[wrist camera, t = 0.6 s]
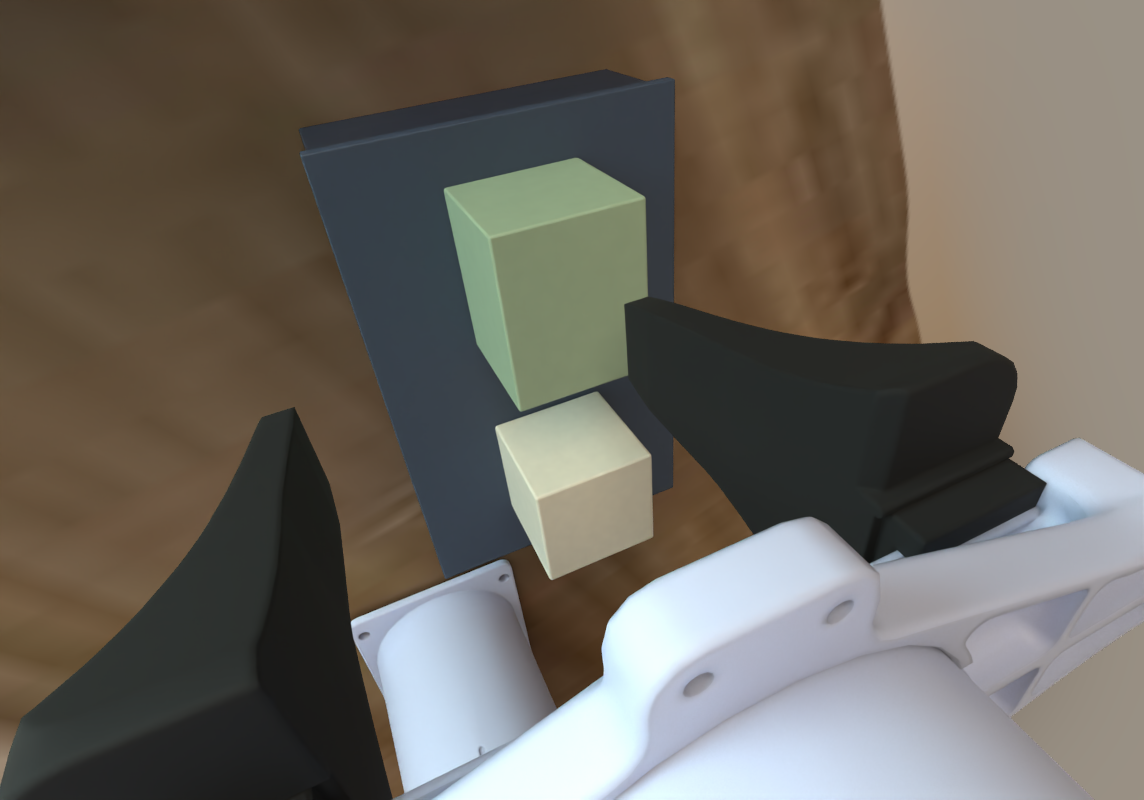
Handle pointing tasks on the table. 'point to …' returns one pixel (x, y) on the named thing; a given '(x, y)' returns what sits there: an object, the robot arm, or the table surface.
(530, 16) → the table surface
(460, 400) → the storage box
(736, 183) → the table surface
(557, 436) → the cream box
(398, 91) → the table surface
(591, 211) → the sage box
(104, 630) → the table surface
